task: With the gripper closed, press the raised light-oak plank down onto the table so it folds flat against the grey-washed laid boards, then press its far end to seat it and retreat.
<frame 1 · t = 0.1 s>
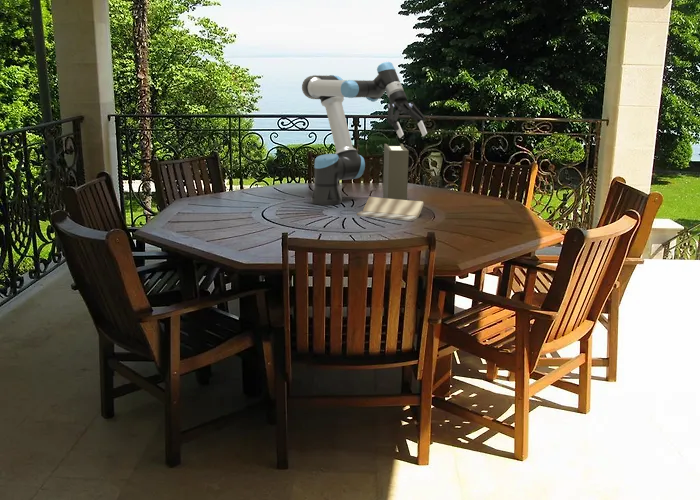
hand: (413, 135, 290), 36 cm above the table, fingers open, 13 cm apart
laid boards: (389, 217, 295), on the table
plank: (392, 207, 298), point 4 cm above the table, hinge at 35.0°
olive curved-top slab: (394, 202, 331), on the table
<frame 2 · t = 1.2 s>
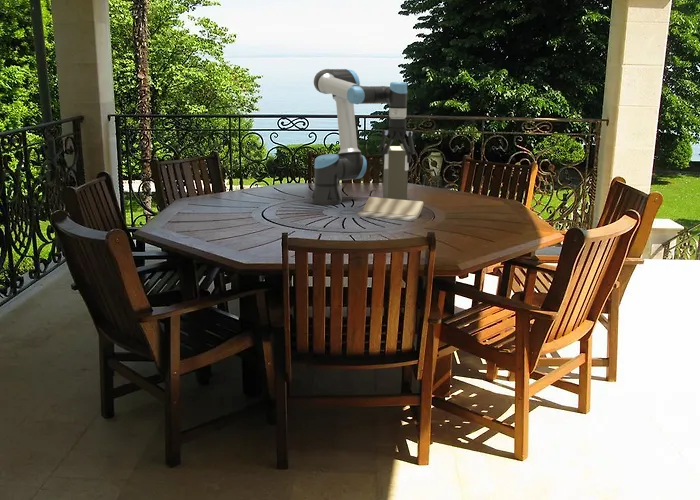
hand: (396, 169, 296), 20 cm above the table, fingers open, 9 cm apart
nothing on the table moved.
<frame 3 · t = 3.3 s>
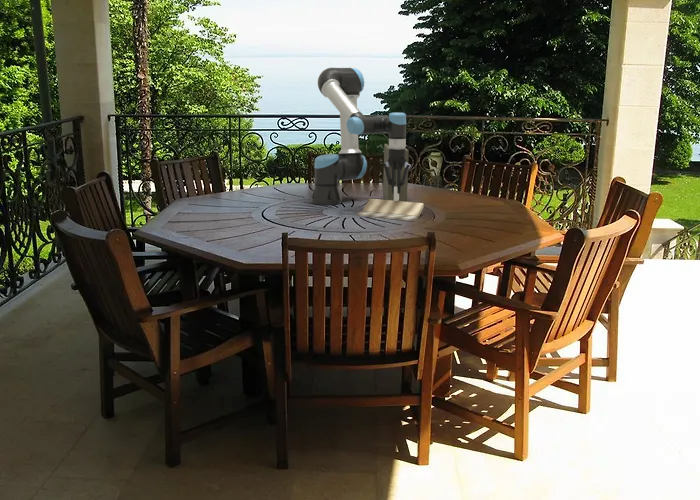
hand: (396, 200, 300), 6 cm above the table, fingers closed
plank: (393, 208, 298), point 3 cm above the table, hinge at 28.1°, touching gripper
everything else where it was.
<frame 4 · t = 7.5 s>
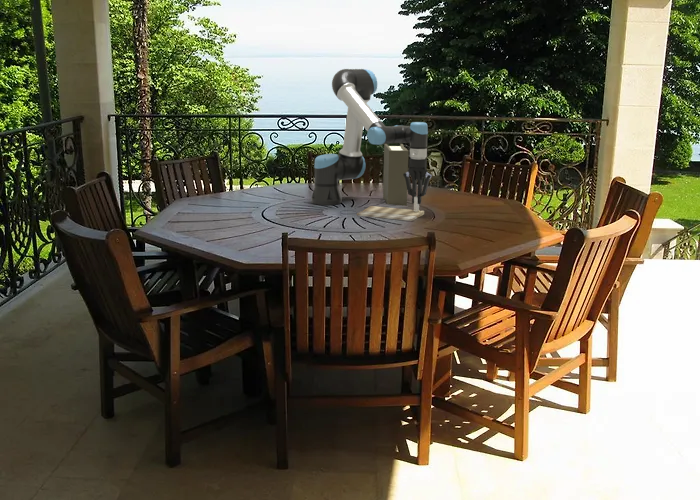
hand: (416, 210, 297), 3 cm above the table, fingers closed
plank: (393, 212, 299), point 1 cm above the table, hinge at 3.4°, touching gripper
everything else where it was.
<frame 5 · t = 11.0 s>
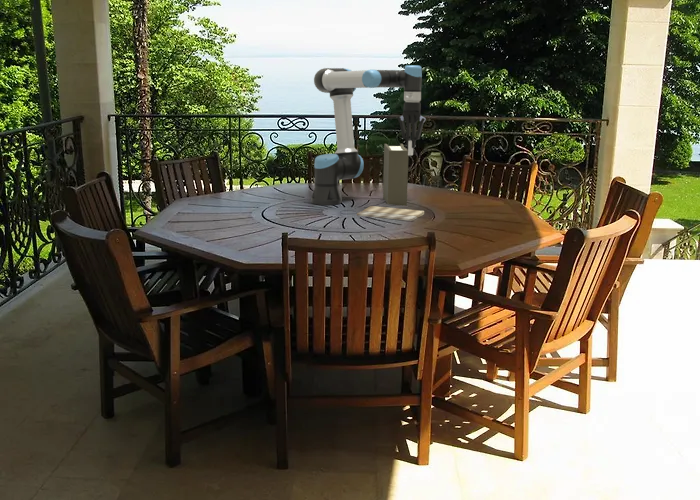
hand: (410, 155, 299), 26 cm above the table, fingers closed
plank: (393, 212, 299), point 1 cm above the table, hinge at 3.4°
everything else where it was.
at the end: plank at +3° (first picture: +35°); the gripper is holding nothing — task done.
